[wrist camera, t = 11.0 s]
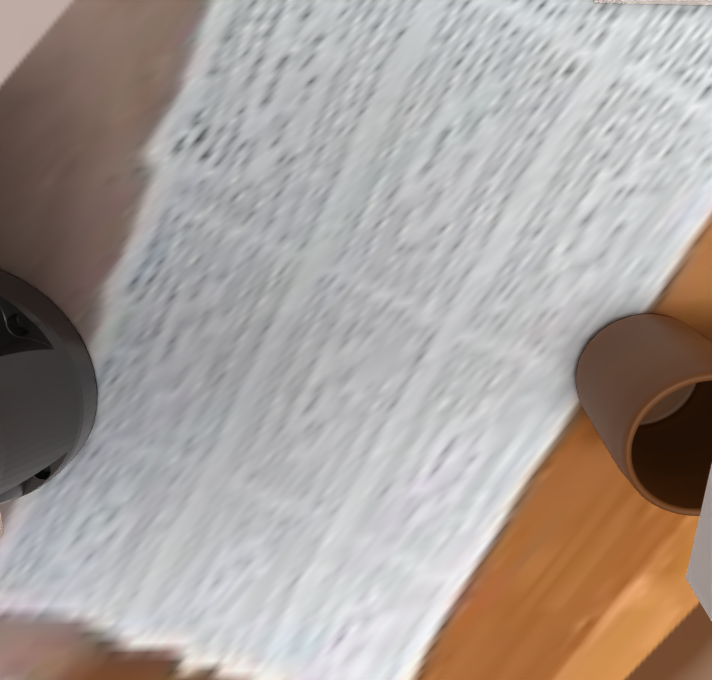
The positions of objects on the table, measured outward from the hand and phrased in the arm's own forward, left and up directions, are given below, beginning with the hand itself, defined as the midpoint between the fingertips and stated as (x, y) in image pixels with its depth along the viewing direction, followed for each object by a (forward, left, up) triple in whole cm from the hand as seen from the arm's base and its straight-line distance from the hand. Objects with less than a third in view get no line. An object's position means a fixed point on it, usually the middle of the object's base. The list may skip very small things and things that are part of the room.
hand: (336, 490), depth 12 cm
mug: (+17, -6, -27) cm, 32 cm away
